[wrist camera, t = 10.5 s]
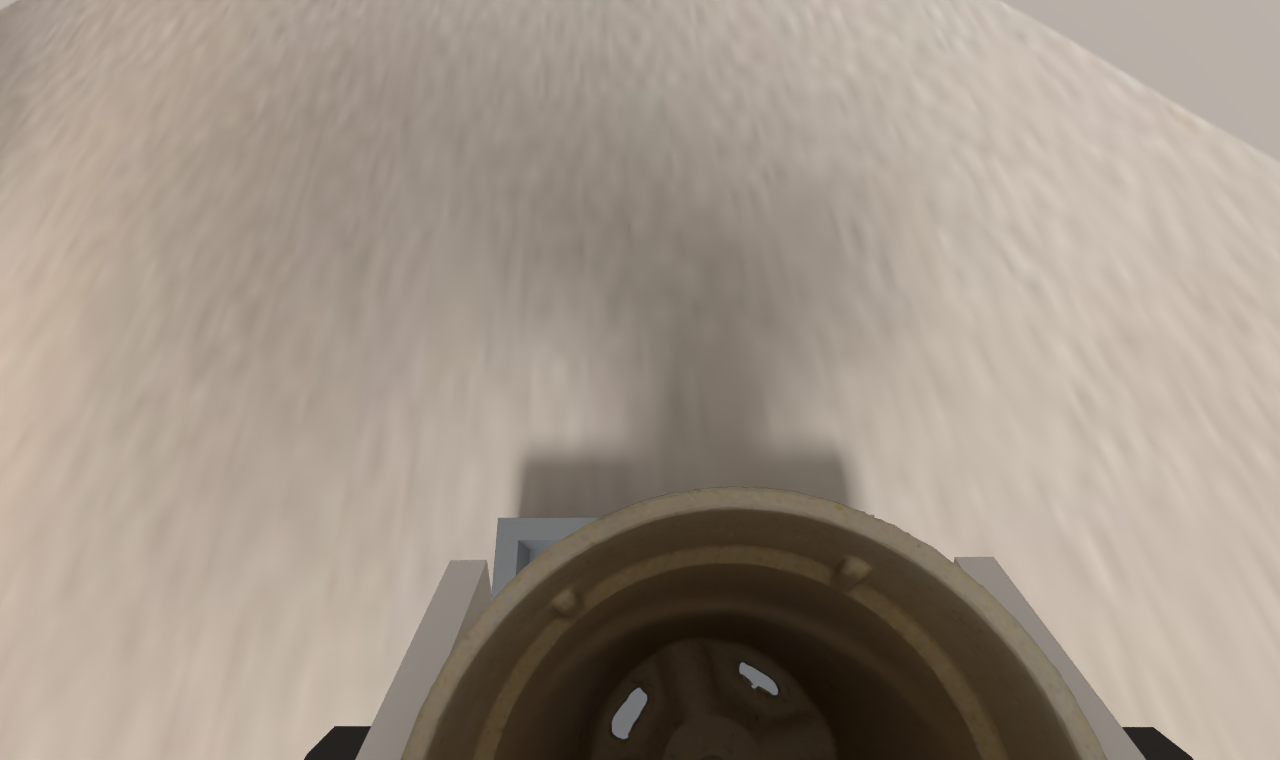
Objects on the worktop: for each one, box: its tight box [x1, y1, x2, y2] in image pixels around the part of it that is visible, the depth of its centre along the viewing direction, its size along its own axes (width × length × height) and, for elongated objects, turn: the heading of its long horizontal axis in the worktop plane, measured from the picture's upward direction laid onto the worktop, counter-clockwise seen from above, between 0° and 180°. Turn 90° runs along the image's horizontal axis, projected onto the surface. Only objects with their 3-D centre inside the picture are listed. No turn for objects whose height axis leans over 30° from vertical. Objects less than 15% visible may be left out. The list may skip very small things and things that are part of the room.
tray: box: [492, 515, 874, 739], centre depth 23 cm, size 14×14×3 cm
